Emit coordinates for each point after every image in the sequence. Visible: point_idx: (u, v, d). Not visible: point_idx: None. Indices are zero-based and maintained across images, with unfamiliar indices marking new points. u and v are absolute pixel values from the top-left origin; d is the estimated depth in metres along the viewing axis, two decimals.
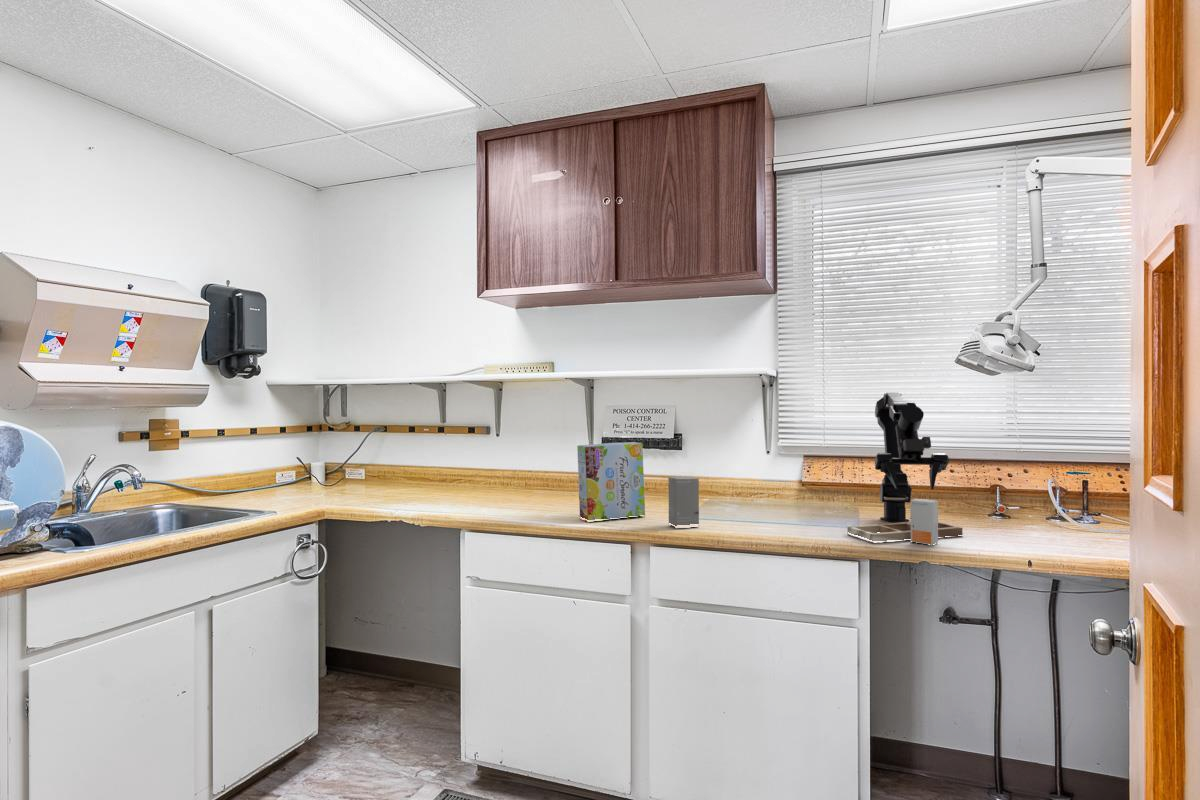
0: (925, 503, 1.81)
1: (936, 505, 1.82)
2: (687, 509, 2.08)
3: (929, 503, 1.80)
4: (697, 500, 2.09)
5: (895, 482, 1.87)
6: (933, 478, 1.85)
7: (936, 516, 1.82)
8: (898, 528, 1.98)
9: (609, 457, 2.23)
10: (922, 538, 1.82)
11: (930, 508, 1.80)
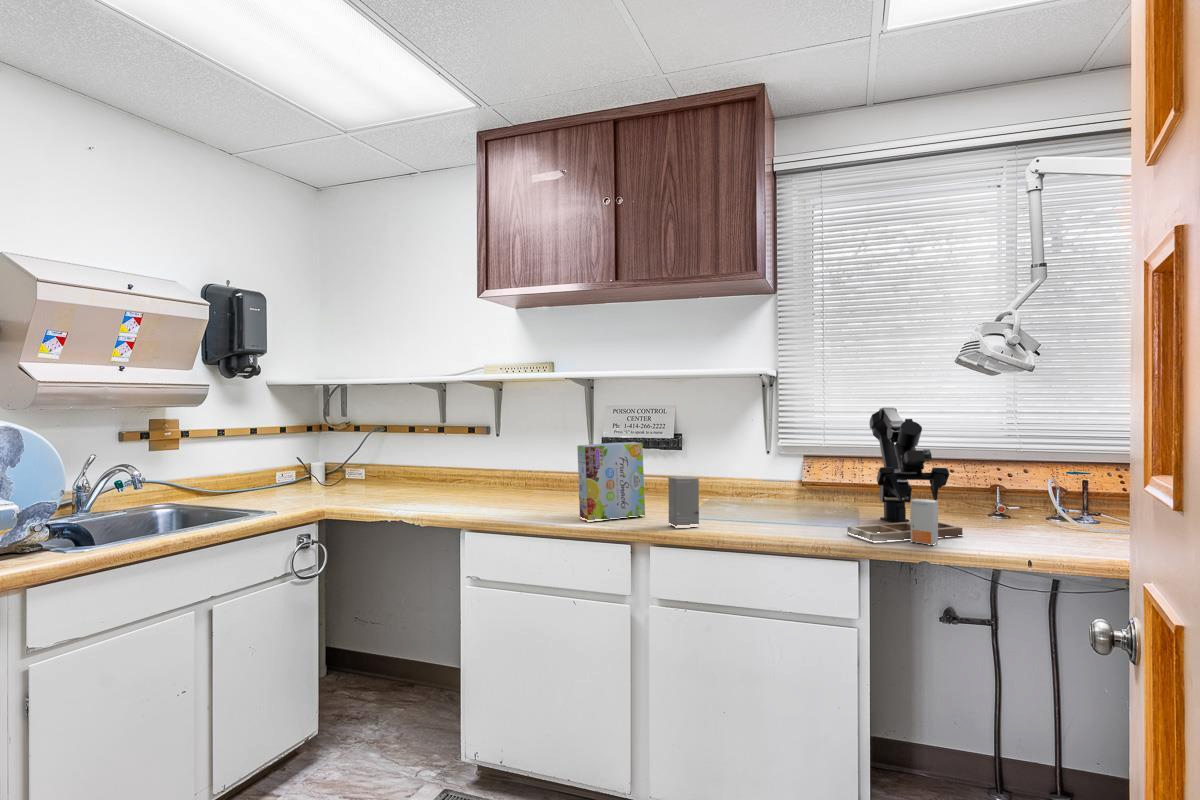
0: (925, 503, 1.81)
1: (936, 505, 1.82)
2: (687, 509, 2.08)
3: (929, 503, 1.80)
4: (697, 500, 2.09)
5: (899, 493, 1.90)
6: (935, 490, 1.88)
7: (936, 516, 1.82)
8: (898, 528, 1.98)
9: (609, 457, 2.23)
10: (922, 538, 1.82)
11: (930, 508, 1.80)
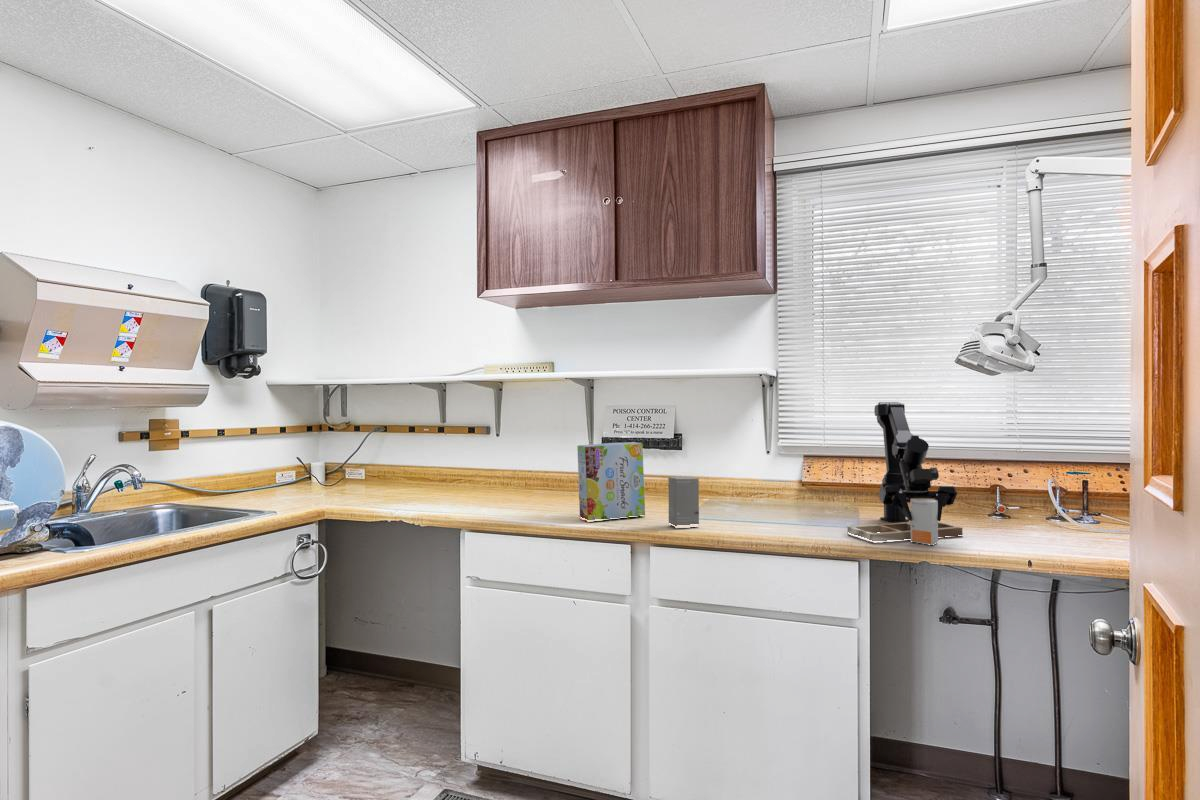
0: (925, 503, 1.81)
1: (936, 505, 1.82)
2: (687, 509, 2.08)
3: (929, 503, 1.80)
4: (697, 500, 2.09)
5: (909, 513, 1.83)
6: (939, 509, 1.83)
7: (936, 516, 1.82)
8: (898, 528, 1.98)
9: (609, 457, 2.23)
10: (922, 538, 1.82)
11: (930, 508, 1.80)
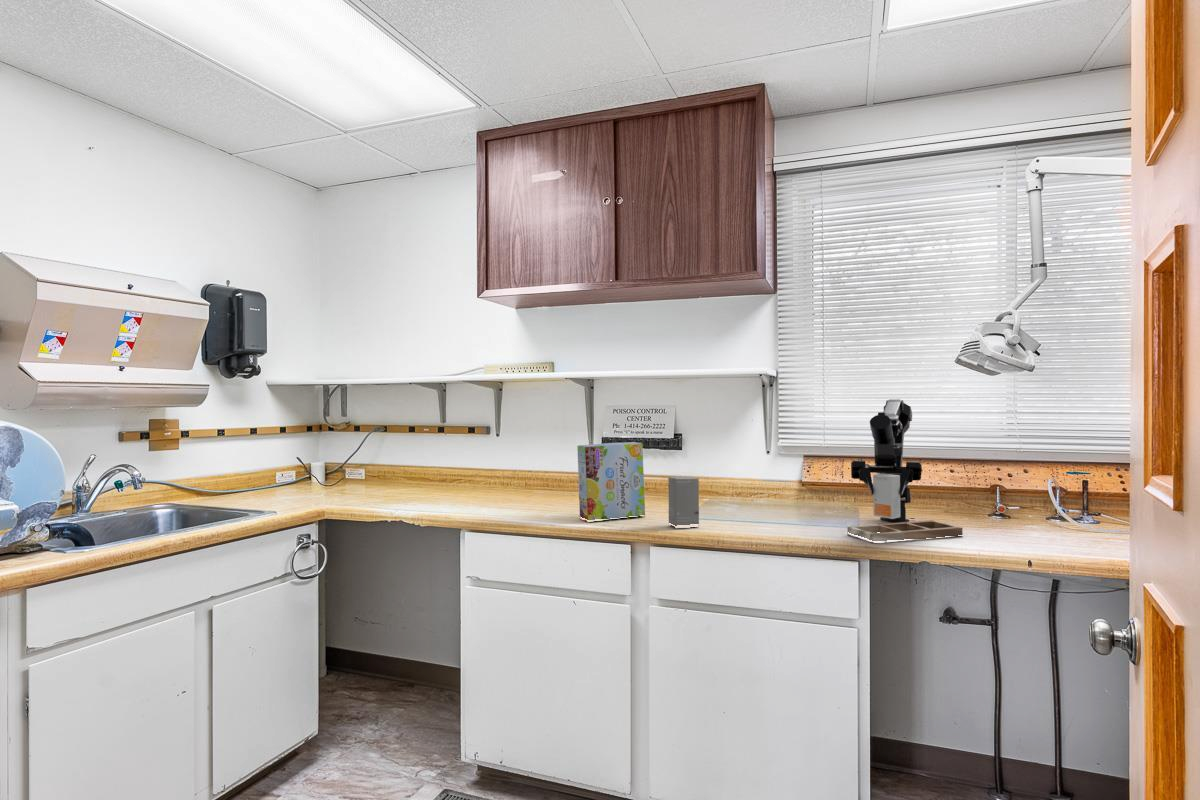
0: (885, 477, 1.86)
1: (897, 479, 1.86)
2: (687, 509, 2.08)
3: (888, 477, 1.86)
4: (697, 500, 2.09)
5: (871, 487, 1.90)
6: (902, 484, 1.87)
7: (897, 490, 1.86)
8: (898, 528, 1.98)
9: (609, 457, 2.23)
10: (883, 511, 1.87)
11: (889, 482, 1.85)
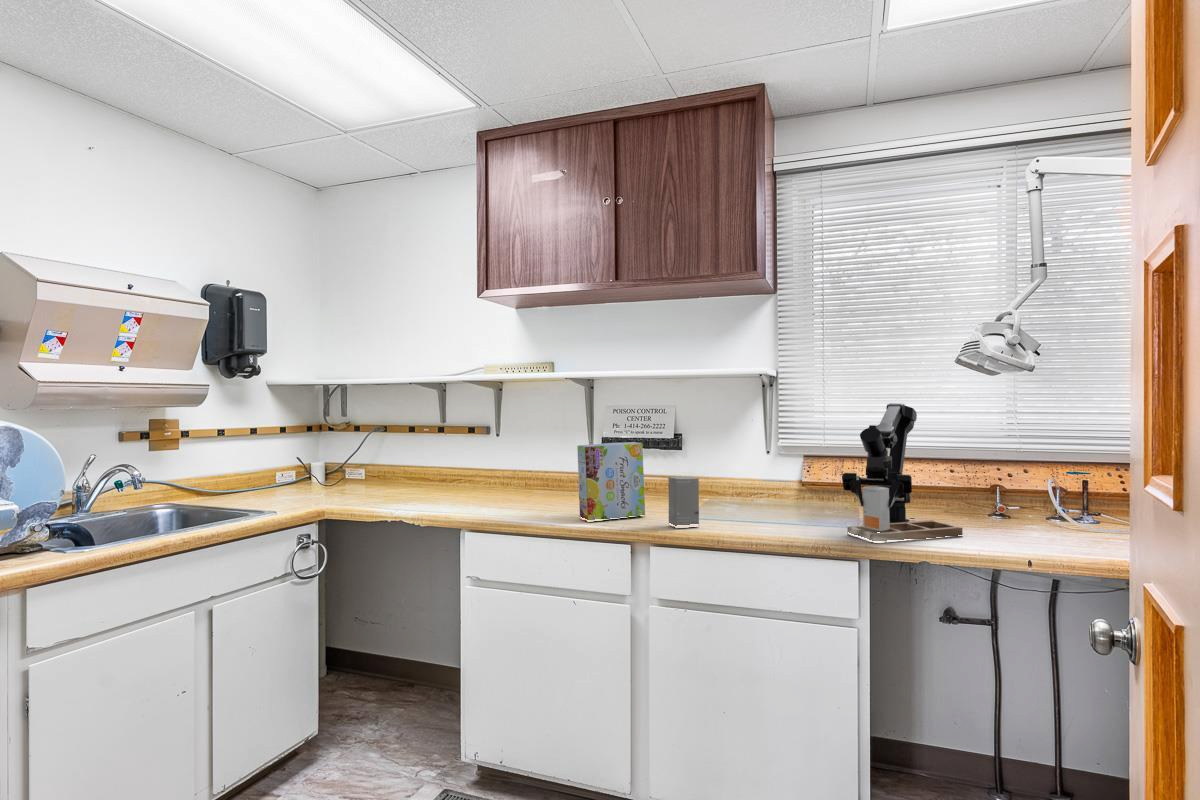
0: (874, 490, 1.89)
1: (886, 492, 1.88)
2: (687, 509, 2.08)
3: (877, 490, 1.88)
4: (697, 500, 2.09)
5: (860, 499, 1.92)
6: (891, 497, 1.89)
7: (886, 502, 1.88)
8: (898, 528, 1.98)
9: (609, 457, 2.23)
10: (872, 523, 1.90)
11: (878, 495, 1.88)
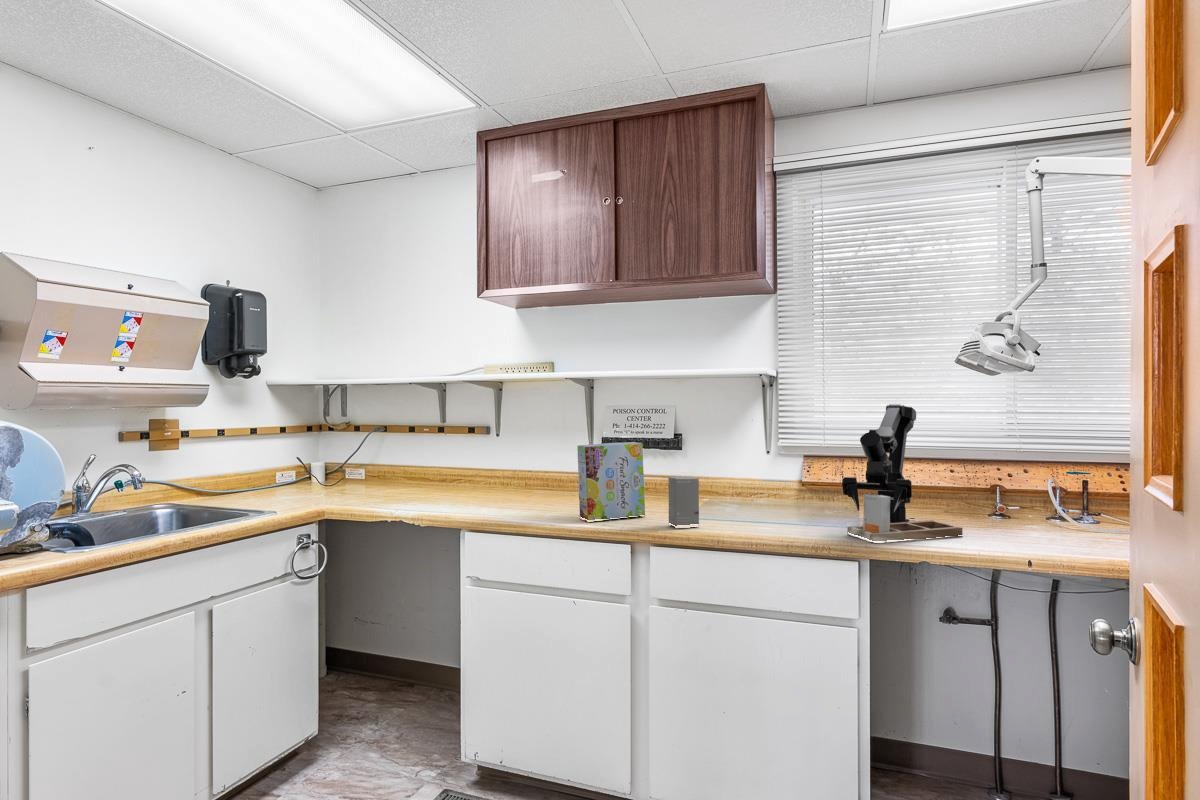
0: (875, 498, 1.89)
1: (887, 500, 1.89)
2: (687, 509, 2.08)
3: (878, 498, 1.88)
4: (697, 500, 2.09)
5: (857, 504, 1.92)
6: (894, 501, 1.89)
7: (887, 511, 1.89)
8: (898, 528, 1.98)
9: (609, 457, 2.23)
10: (872, 531, 1.90)
11: (879, 503, 1.88)
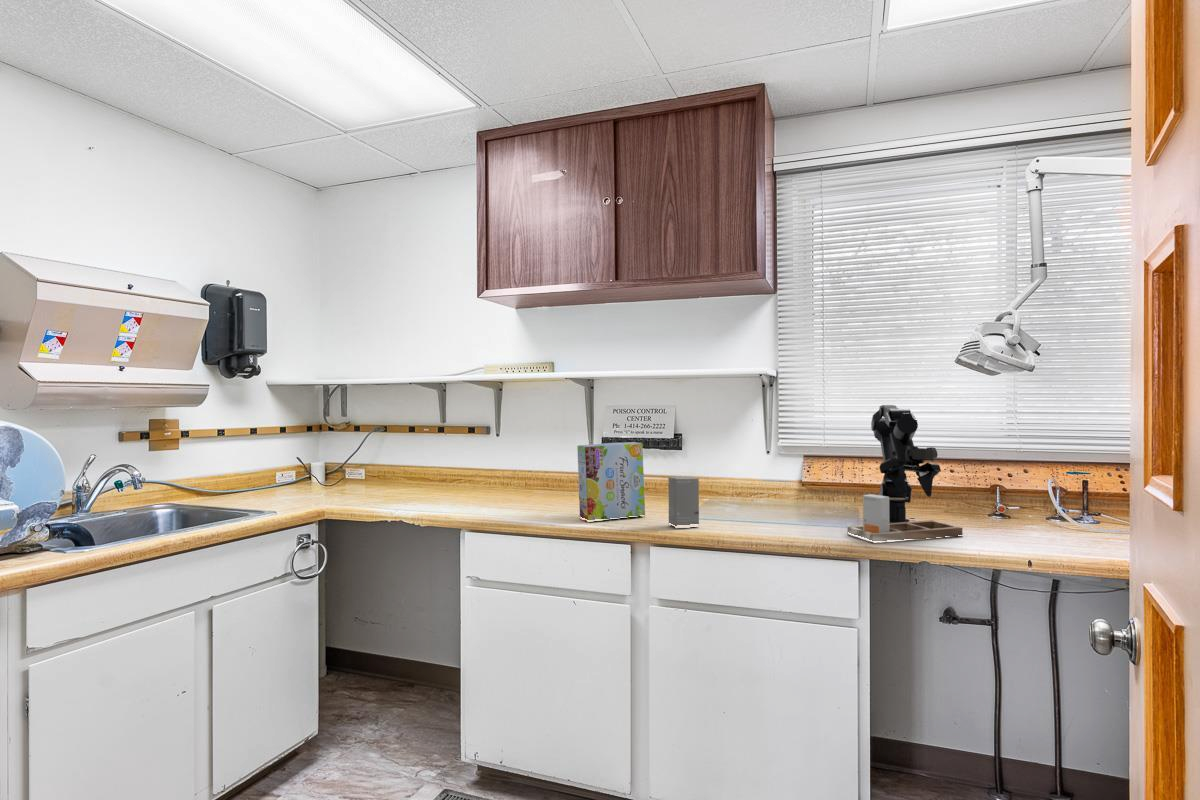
0: (874, 498, 1.89)
1: (886, 501, 1.88)
2: (687, 509, 2.08)
3: (877, 498, 1.88)
4: (697, 500, 2.09)
5: (905, 488, 1.94)
6: (930, 486, 1.97)
7: (886, 511, 1.89)
8: (898, 528, 1.98)
9: (609, 457, 2.23)
10: (872, 532, 1.90)
11: (878, 503, 1.88)
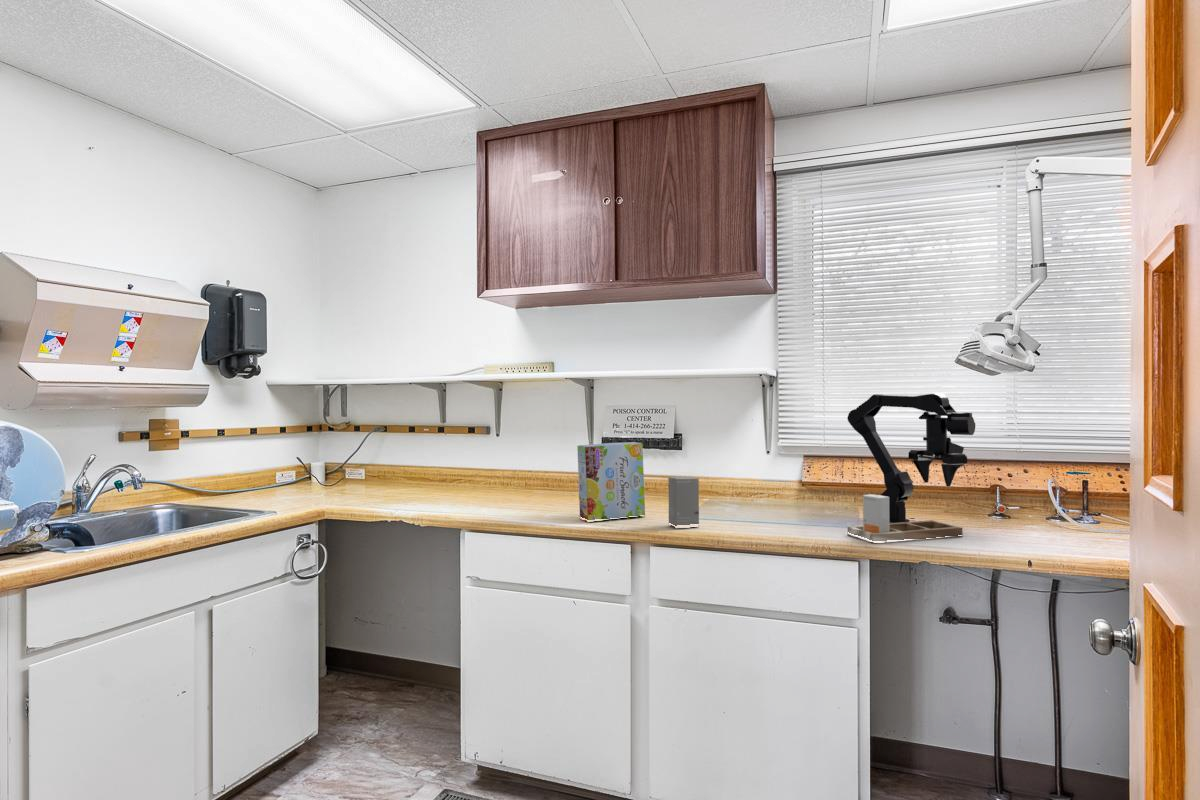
0: (874, 498, 1.89)
1: (886, 501, 1.88)
2: (687, 509, 2.08)
3: (877, 498, 1.88)
4: (697, 500, 2.09)
5: None
6: None
7: (886, 511, 1.89)
8: (898, 528, 1.98)
9: (609, 457, 2.23)
10: (872, 532, 1.90)
11: (878, 503, 1.88)
